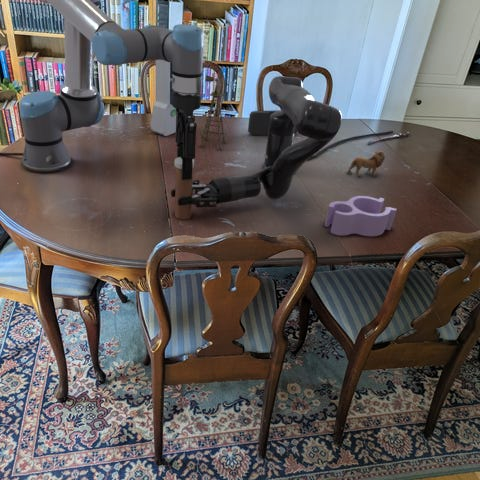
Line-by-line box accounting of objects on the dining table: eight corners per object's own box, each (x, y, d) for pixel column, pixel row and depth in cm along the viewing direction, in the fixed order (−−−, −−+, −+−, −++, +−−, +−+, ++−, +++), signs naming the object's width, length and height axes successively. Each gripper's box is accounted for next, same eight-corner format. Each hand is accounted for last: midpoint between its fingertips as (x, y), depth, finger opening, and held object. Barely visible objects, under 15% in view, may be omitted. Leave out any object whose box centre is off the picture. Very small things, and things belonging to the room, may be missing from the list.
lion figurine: (375, 170, 181) (381, 148, 176) (383, 176, 177) (389, 153, 172) (342, 172, 176) (348, 150, 171) (350, 178, 172) (355, 156, 167)
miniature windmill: (220, 150, 184) (225, 71, 167) (199, 146, 185) (203, 68, 168) (225, 142, 191) (231, 66, 175) (205, 139, 192) (209, 63, 176)
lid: (175, 169, 128) (175, 164, 127) (173, 161, 132) (173, 156, 131) (195, 169, 129) (195, 164, 128) (192, 161, 133) (193, 156, 132)
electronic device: (164, 137, 190) (164, 60, 174) (149, 132, 193) (148, 56, 177) (182, 129, 199) (184, 56, 183) (169, 125, 202) (169, 52, 186)
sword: (406, 132, 223) (406, 130, 222) (411, 134, 221) (412, 132, 220) (362, 144, 207) (363, 141, 206) (368, 146, 205) (368, 143, 204)
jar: (175, 219, 137) (176, 165, 127) (174, 211, 141) (175, 158, 131) (192, 219, 138) (194, 165, 128) (190, 211, 142) (192, 158, 132)
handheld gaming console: (295, 131, 210) (298, 109, 204) (297, 134, 208) (301, 111, 202) (247, 133, 203) (249, 110, 197) (249, 135, 201) (251, 112, 195)
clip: (337, 240, 135) (342, 219, 131) (318, 218, 145) (322, 198, 141) (395, 233, 141) (402, 213, 137) (373, 213, 151) (378, 194, 147)
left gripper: (164, 81, 125) (164, 161, 138) (180, 102, 111) (178, 190, 124) (192, 81, 128) (189, 160, 140) (210, 102, 113) (205, 188, 126)
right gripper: (218, 168, 145) (166, 175, 138) (239, 188, 135) (184, 197, 127) (216, 190, 149) (166, 197, 142) (237, 211, 139) (183, 220, 131)
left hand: (184, 174), depth 132 cm, fingers closed on lid, 5 cm apart
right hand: (175, 197), depth 135 cm, fingers closed on jar, 5 cm apart
